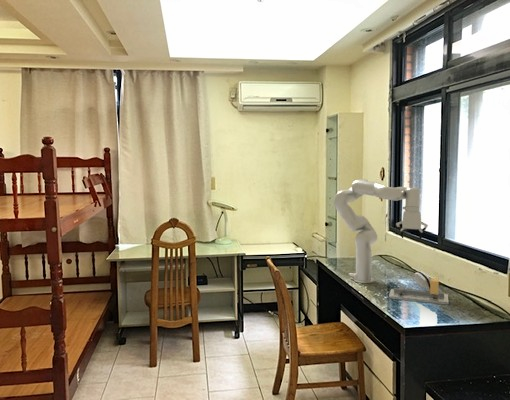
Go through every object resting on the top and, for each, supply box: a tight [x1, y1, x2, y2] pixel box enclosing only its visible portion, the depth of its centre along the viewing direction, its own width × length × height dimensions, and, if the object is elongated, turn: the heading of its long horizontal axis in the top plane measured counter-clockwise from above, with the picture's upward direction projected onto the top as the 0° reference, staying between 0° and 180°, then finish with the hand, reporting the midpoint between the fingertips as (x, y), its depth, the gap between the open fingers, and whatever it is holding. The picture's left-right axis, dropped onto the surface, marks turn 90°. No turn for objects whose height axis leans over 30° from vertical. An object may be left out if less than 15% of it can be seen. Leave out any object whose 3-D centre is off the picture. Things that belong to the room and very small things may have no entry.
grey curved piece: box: [413, 270, 431, 291], centre depth 259 cm, size 17×5×10 cm, turn 2°
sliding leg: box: [430, 277, 440, 298], centre depth 237 cm, size 4×7×9 cm, turn 158°
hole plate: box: [388, 288, 450, 306], centre depth 240 cm, size 30×14×2 cm, turn 68°
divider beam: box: [393, 285, 445, 297], centre depth 241 cm, size 26×7×3 cm, turn 68°
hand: (411, 238), depth 253 cm, fingers open, 9 cm apart
